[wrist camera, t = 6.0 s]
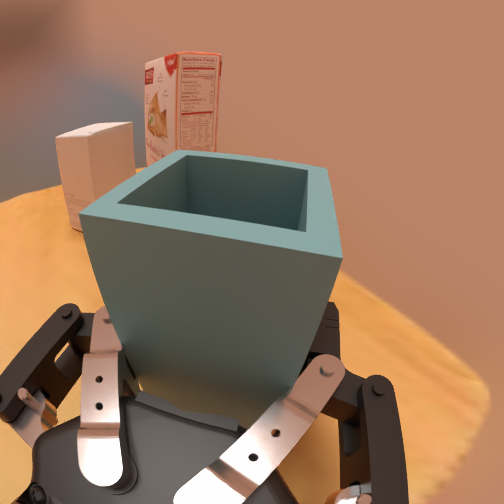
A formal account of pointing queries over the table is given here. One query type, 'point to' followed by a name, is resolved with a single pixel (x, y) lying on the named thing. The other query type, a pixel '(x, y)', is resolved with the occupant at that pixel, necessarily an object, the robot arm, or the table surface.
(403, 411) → the table surface
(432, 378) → the table surface
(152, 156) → the cracker box
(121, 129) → the supplement box
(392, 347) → the table surface
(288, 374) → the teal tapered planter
